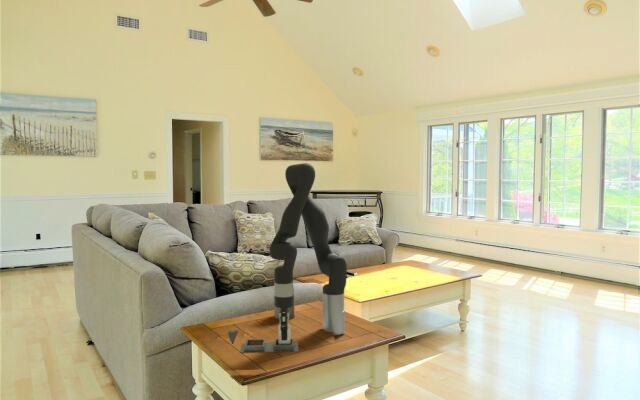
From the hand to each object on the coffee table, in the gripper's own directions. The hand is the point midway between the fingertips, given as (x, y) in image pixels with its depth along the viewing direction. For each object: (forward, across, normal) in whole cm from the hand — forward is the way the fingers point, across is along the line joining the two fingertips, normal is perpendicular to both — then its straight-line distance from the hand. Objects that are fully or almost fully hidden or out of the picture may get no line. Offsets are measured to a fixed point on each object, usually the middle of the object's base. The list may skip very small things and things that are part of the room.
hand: (284, 337), depth 179 cm
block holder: (+5, 0, +6) cm, 8 cm away
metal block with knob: (+3, 0, 0) cm, 3 cm away
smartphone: (+6, +16, +20) cm, 26 cm away
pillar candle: (+6, +42, +2) cm, 42 cm away
